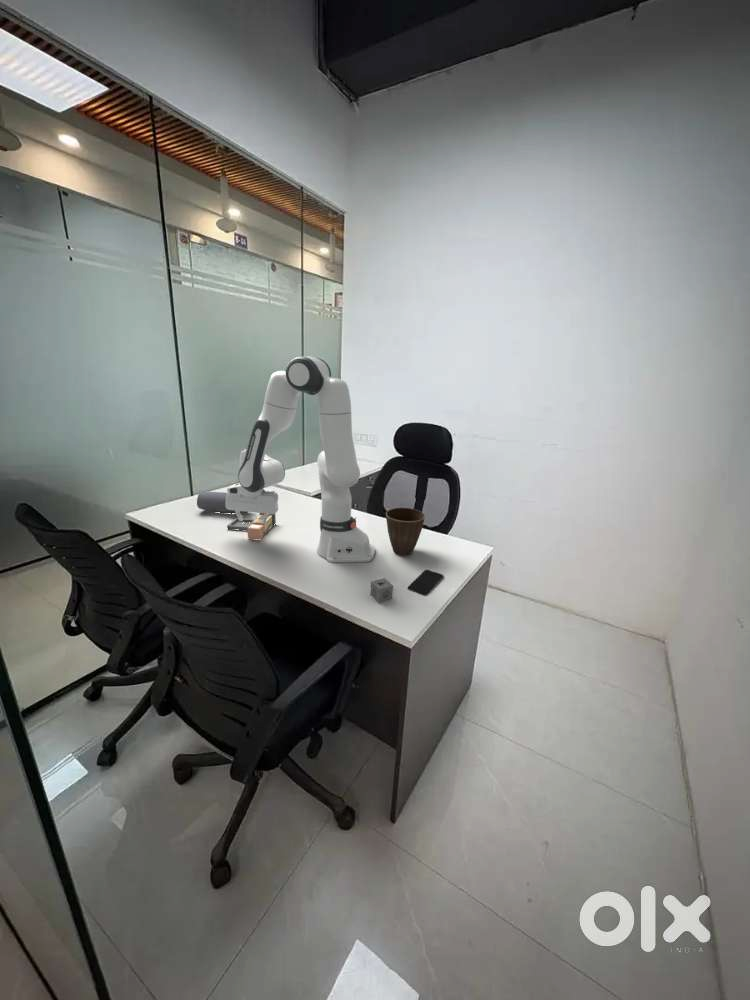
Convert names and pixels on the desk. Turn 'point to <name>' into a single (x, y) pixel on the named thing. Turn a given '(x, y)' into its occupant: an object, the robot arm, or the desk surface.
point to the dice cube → (381, 590)
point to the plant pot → (404, 529)
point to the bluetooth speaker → (214, 502)
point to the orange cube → (255, 531)
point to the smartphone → (425, 582)
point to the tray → (240, 524)
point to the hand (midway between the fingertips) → (252, 521)
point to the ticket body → (270, 521)
